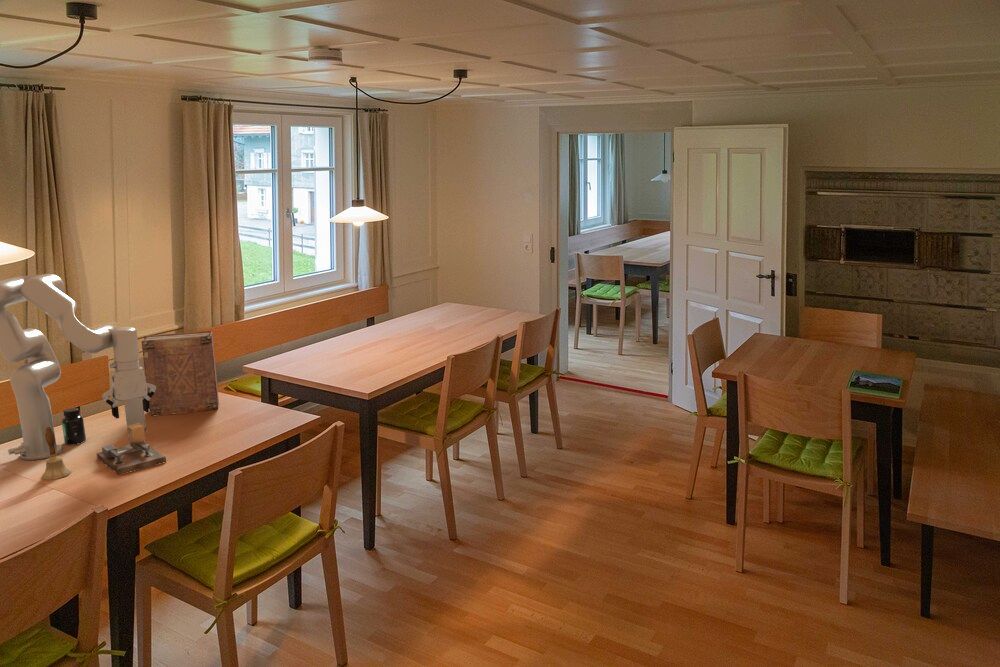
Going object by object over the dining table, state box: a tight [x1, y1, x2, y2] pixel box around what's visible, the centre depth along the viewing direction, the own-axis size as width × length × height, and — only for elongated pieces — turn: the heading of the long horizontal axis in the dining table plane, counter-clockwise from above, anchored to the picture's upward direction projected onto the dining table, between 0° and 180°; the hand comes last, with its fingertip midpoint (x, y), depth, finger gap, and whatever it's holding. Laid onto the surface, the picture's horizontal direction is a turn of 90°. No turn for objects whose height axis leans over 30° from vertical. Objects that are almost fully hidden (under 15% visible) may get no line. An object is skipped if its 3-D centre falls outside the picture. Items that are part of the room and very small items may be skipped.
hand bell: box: [41, 427, 72, 481], centre depth 259 cm, size 8×8×16 cm
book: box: [141, 330, 220, 417], centre depth 321 cm, size 25×9×30 cm, turn 107°
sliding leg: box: [126, 423, 150, 455], centre depth 272 cm, size 4×12×8 cm, turn 43°
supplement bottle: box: [61, 407, 87, 445], centre depth 288 cm, size 7×7×12 cm
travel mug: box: [123, 397, 147, 432], centre depth 298 cm, size 6×7×20 cm
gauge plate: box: [96, 443, 167, 476], centre depth 271 cm, size 15×20×5 cm
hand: (131, 414), depth 273 cm, fingers open, 9 cm apart
